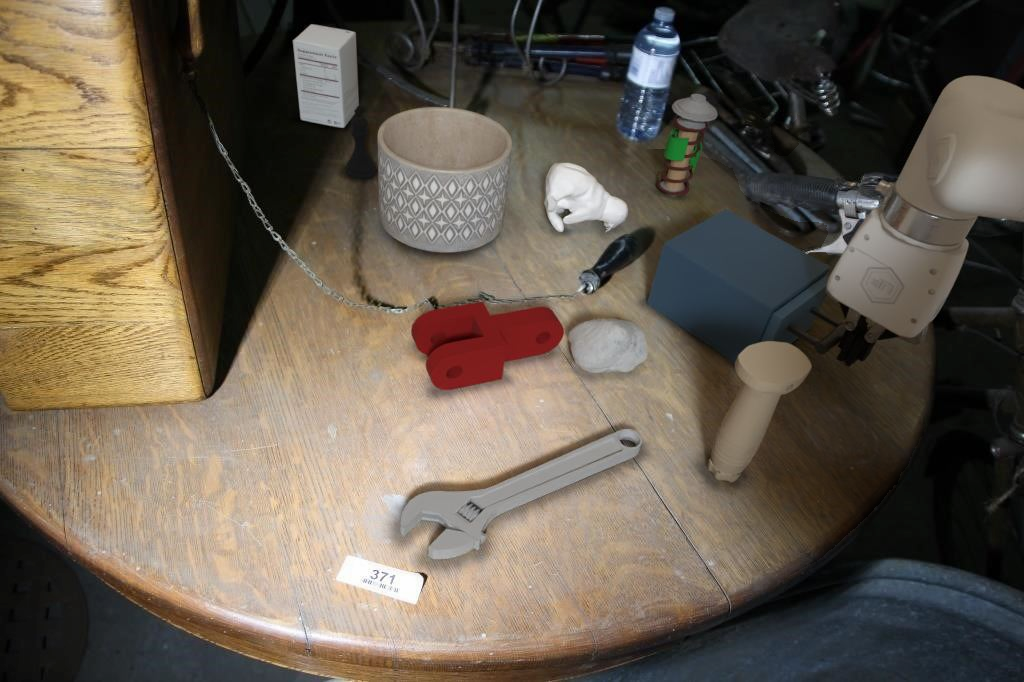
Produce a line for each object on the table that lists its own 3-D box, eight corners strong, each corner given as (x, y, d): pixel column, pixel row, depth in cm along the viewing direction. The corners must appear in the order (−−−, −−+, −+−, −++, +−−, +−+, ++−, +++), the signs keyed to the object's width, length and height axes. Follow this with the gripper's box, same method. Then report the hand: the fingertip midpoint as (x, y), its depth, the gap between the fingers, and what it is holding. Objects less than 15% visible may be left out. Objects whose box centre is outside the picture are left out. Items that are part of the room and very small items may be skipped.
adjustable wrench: (628, 434, 76) (632, 422, 75) (664, 482, 72) (669, 471, 71) (394, 513, 66) (394, 501, 65) (421, 573, 62) (421, 562, 61)
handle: (682, 461, 74) (727, 350, 64) (734, 444, 77) (786, 335, 67) (710, 499, 71) (762, 389, 61) (764, 481, 74) (822, 372, 63)
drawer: (847, 350, 88) (874, 302, 83) (797, 393, 82) (823, 344, 77) (719, 272, 97) (736, 225, 92) (665, 305, 91) (681, 257, 86)
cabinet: (802, 326, 92) (830, 266, 86) (745, 370, 85) (772, 308, 79) (705, 267, 99) (725, 208, 93) (646, 303, 92) (664, 242, 86)
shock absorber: (695, 205, 111) (725, 109, 101) (653, 201, 111) (679, 104, 101) (689, 183, 116) (717, 89, 106) (648, 179, 115) (672, 84, 105)
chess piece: (339, 173, 107) (335, 106, 101) (357, 160, 110) (354, 95, 104) (364, 182, 106) (362, 116, 99) (382, 169, 109) (381, 104, 102)
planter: (501, 195, 107) (510, 112, 99) (504, 264, 95) (514, 176, 87) (384, 187, 106) (383, 101, 97) (373, 256, 94) (370, 166, 85)
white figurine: (551, 150, 100) (637, 169, 101) (537, 204, 106) (619, 221, 107) (549, 173, 96) (640, 193, 97) (534, 228, 101) (620, 247, 102)
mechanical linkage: (430, 394, 77) (431, 359, 74) (410, 348, 82) (411, 313, 79) (569, 364, 83) (576, 331, 79) (543, 323, 88) (549, 289, 84)
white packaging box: (316, 101, 123) (310, 22, 114) (360, 109, 122) (357, 31, 114) (298, 120, 118) (291, 39, 109) (344, 129, 117) (339, 48, 108)
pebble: (594, 323, 88) (602, 290, 85) (654, 356, 85) (664, 323, 82) (552, 360, 83) (559, 326, 80) (614, 397, 80) (623, 363, 77)
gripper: (836, 191, 72) (772, 335, 84) (992, 268, 64) (897, 414, 76) (872, 170, 76) (806, 309, 88) (1023, 240, 68) (928, 382, 80)
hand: (848, 358), depth 82 cm, fingers closed
